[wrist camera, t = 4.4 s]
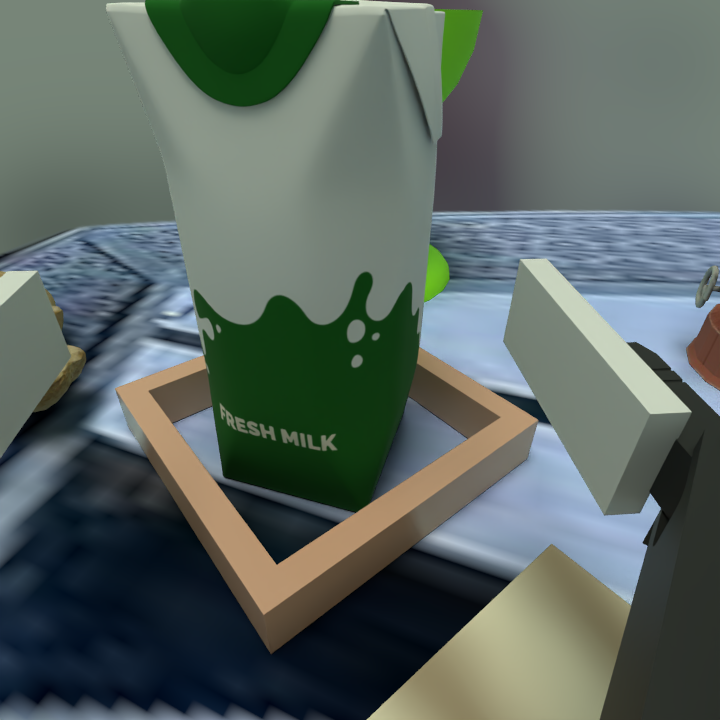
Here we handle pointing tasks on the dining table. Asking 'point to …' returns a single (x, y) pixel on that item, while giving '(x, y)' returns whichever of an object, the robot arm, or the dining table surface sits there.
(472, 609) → the dining table surface
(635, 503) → the robot arm
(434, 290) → the wineglass
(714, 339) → the lantern
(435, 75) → the green white milk carton
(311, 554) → the holder
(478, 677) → the board
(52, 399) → the oil lamp
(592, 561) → the dining table surface
